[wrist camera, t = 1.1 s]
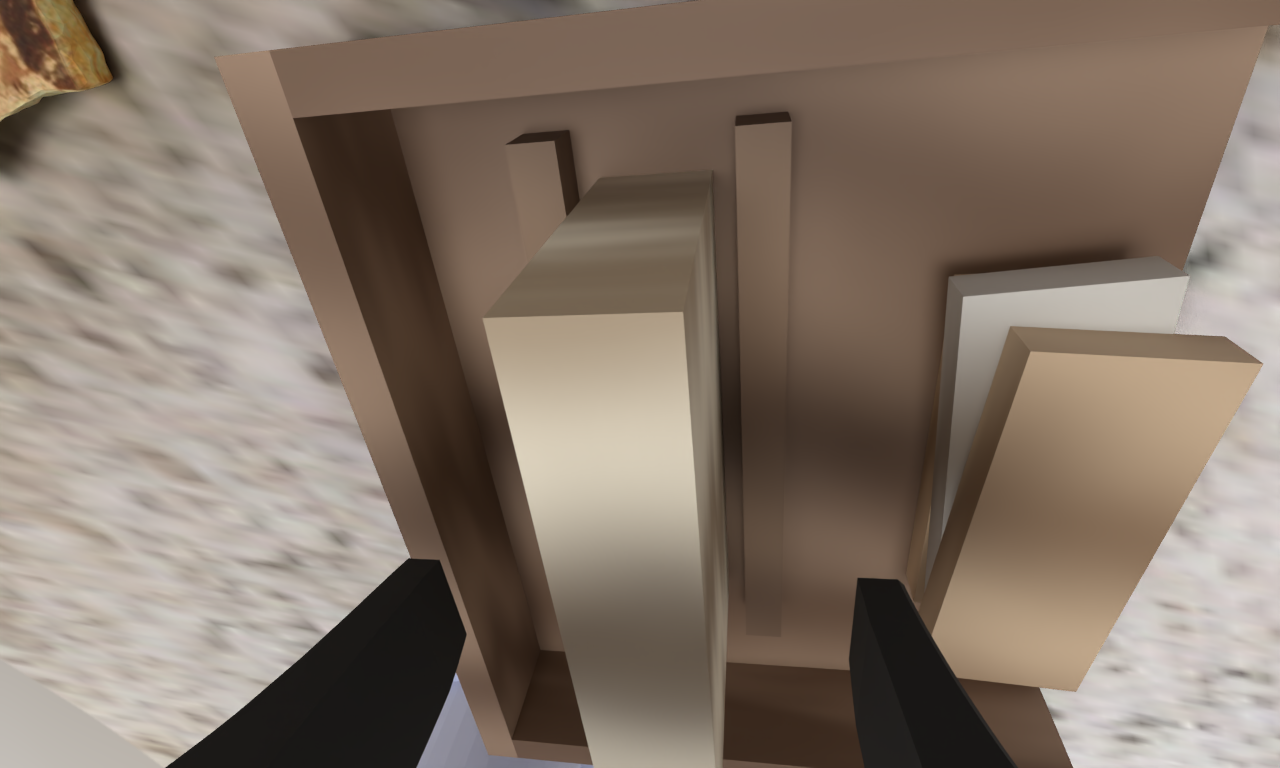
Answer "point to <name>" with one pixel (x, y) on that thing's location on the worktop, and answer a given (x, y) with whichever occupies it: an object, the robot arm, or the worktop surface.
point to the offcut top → (1073, 493)
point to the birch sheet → (628, 460)
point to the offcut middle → (1038, 299)
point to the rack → (728, 277)
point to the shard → (45, 53)
